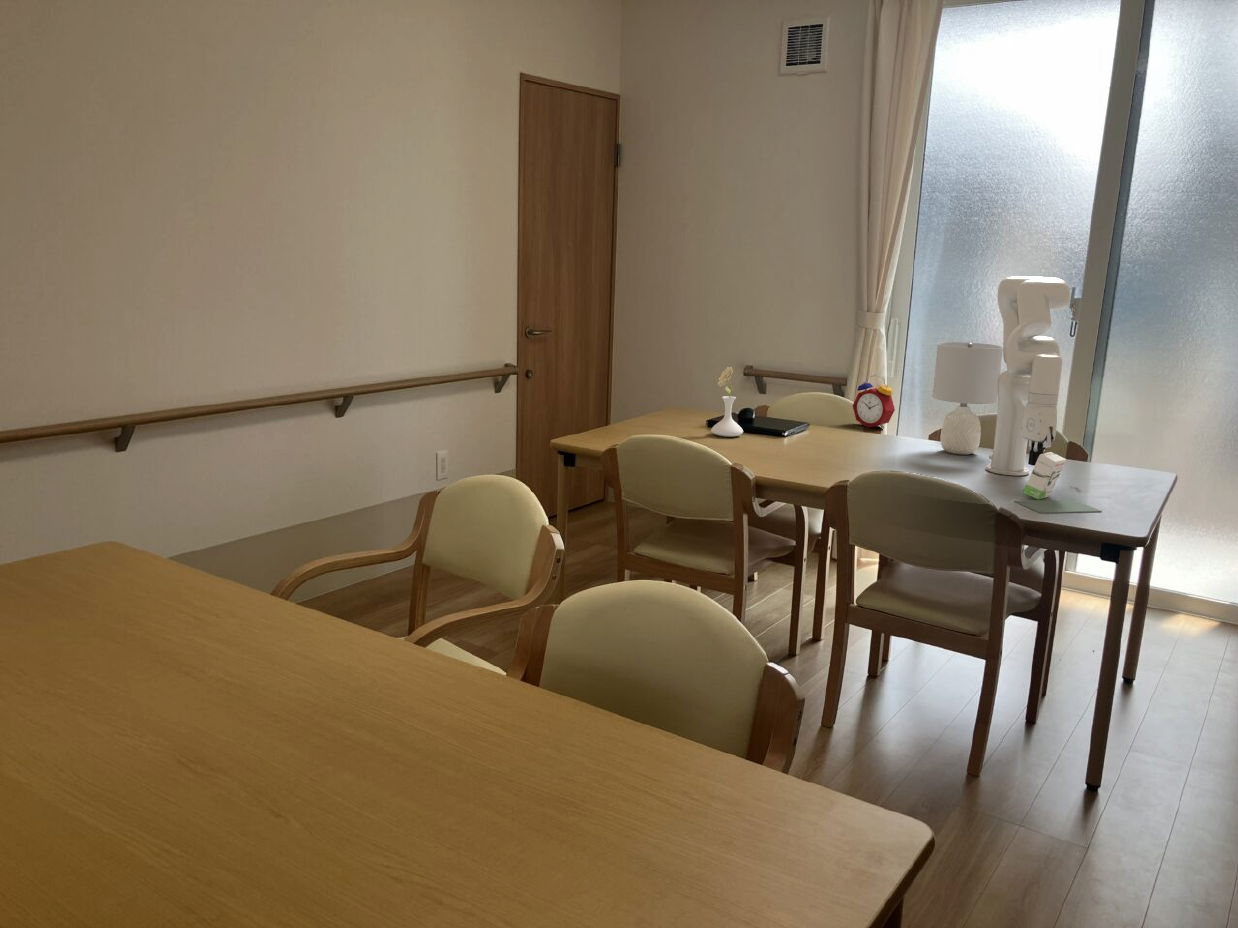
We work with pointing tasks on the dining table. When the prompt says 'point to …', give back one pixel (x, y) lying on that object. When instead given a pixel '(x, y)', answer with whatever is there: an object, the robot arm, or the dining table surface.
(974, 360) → the lamp
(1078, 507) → the felt mat
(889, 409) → the alarm clock
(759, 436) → the dining table surface
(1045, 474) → the ink box
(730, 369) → the flower in vase
